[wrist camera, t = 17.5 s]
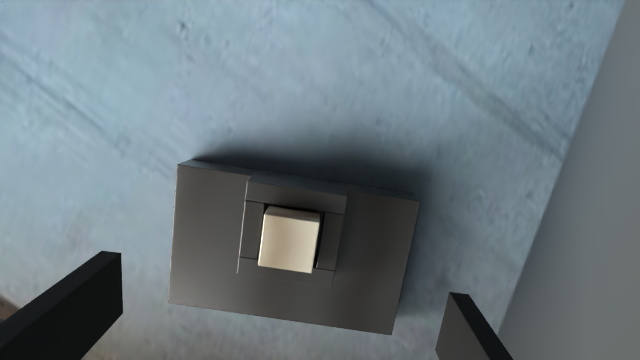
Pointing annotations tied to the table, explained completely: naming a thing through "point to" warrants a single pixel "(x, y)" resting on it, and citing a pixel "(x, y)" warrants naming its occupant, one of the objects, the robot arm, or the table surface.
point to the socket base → (280, 284)
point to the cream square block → (289, 239)
